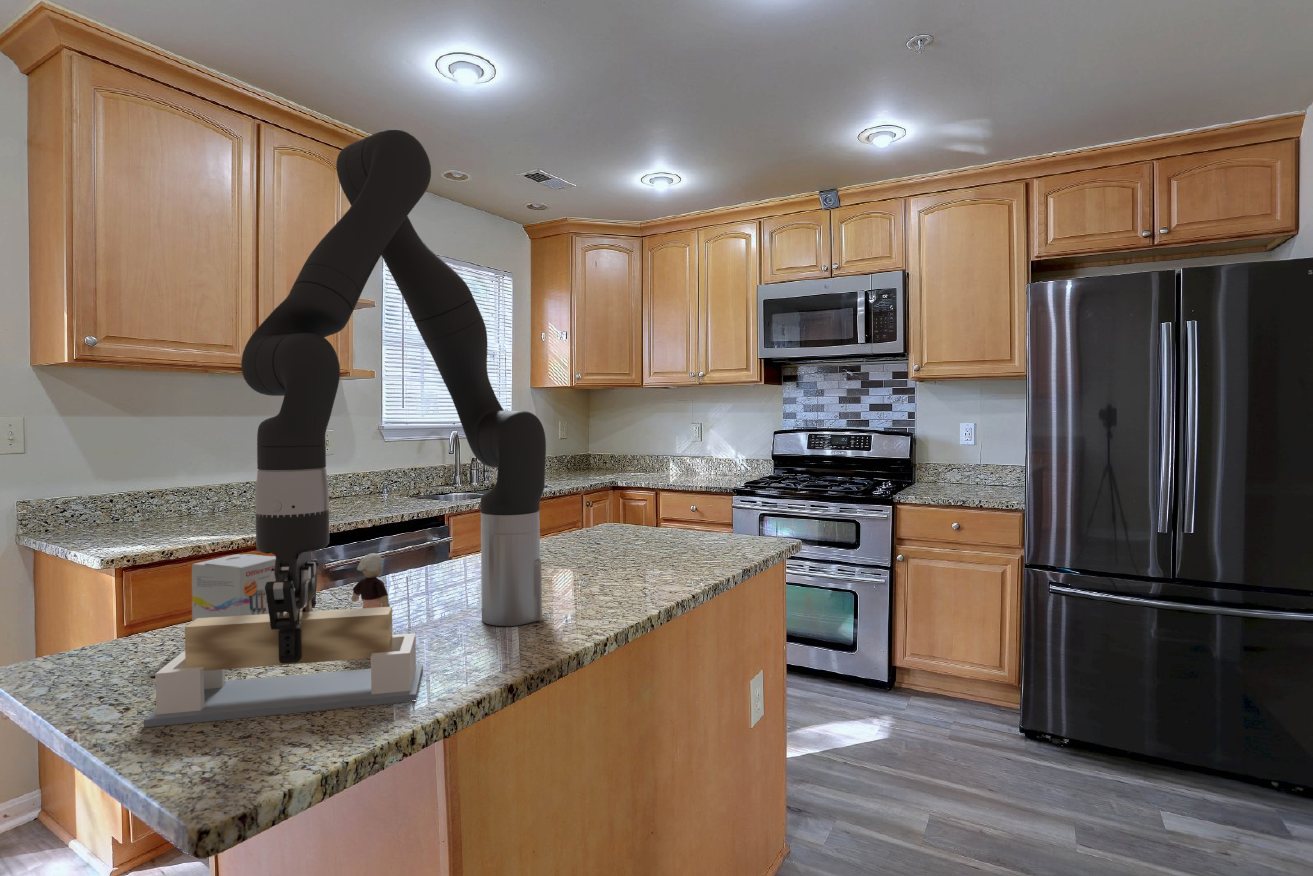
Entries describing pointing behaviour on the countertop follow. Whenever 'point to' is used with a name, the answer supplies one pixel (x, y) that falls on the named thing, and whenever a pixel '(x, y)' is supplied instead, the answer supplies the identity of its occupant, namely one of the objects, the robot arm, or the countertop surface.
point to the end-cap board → (283, 689)
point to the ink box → (231, 586)
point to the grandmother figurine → (371, 583)
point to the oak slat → (258, 644)
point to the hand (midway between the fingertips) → (295, 655)
